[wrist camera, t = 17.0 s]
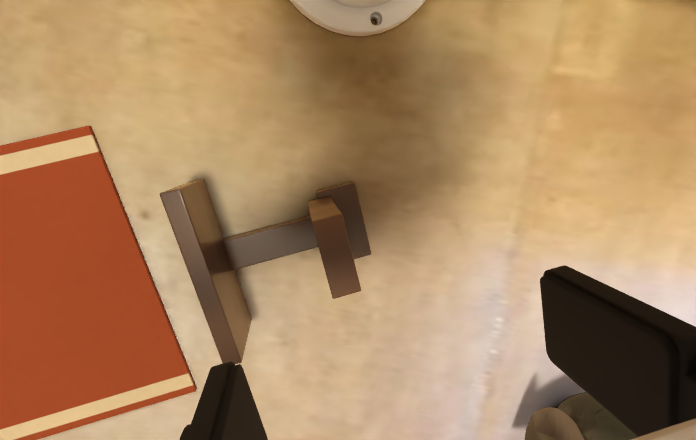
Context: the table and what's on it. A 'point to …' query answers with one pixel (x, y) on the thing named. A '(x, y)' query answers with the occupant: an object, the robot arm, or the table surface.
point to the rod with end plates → (261, 252)
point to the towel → (75, 295)
